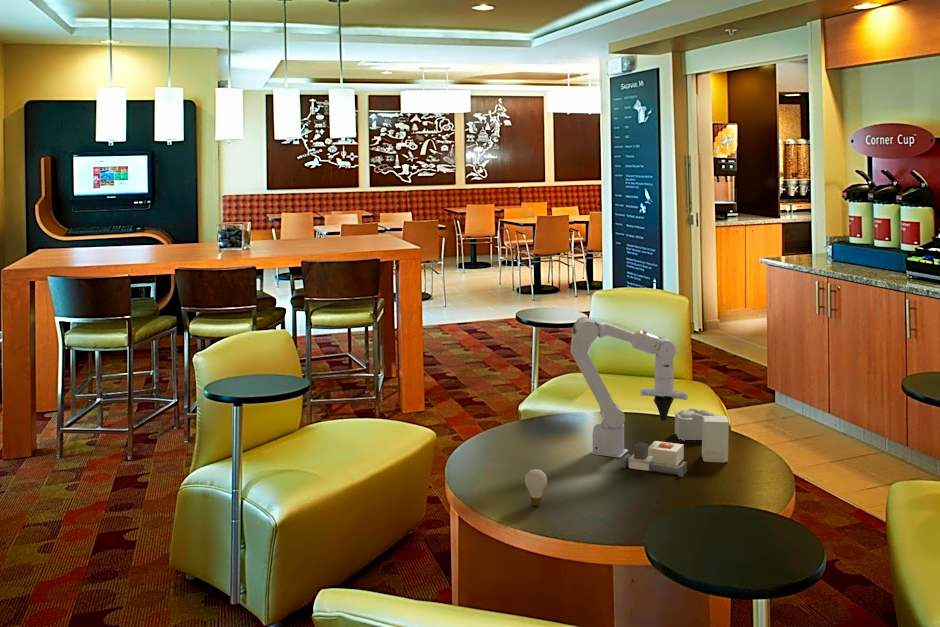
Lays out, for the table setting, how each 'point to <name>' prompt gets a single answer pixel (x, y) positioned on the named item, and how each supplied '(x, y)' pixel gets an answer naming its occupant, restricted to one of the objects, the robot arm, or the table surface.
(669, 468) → the rail
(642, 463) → the carriage
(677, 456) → the white hollow block
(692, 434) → the lumpy-topped squat cylinder
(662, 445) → the plunger
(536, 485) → the light bulb
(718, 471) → the table surface
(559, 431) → the table surface
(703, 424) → the supplement box
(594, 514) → the table surface
